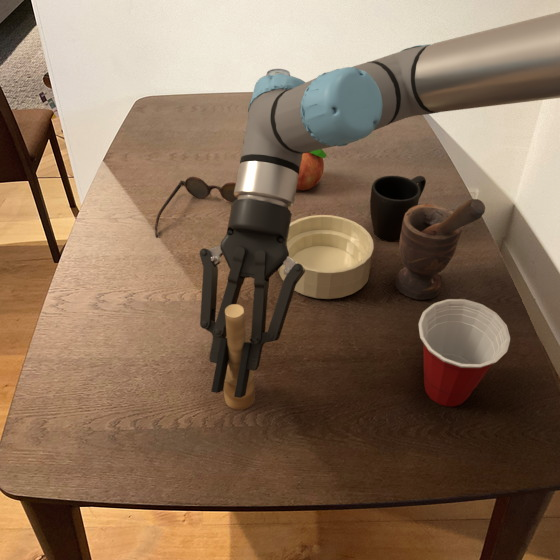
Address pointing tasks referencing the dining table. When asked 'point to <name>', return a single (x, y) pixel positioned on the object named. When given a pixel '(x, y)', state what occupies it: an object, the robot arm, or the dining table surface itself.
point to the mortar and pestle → (430, 245)
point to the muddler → (236, 358)
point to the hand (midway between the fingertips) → (228, 393)
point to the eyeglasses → (200, 192)
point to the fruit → (311, 169)
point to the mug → (393, 204)
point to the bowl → (329, 255)
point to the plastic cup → (459, 348)
